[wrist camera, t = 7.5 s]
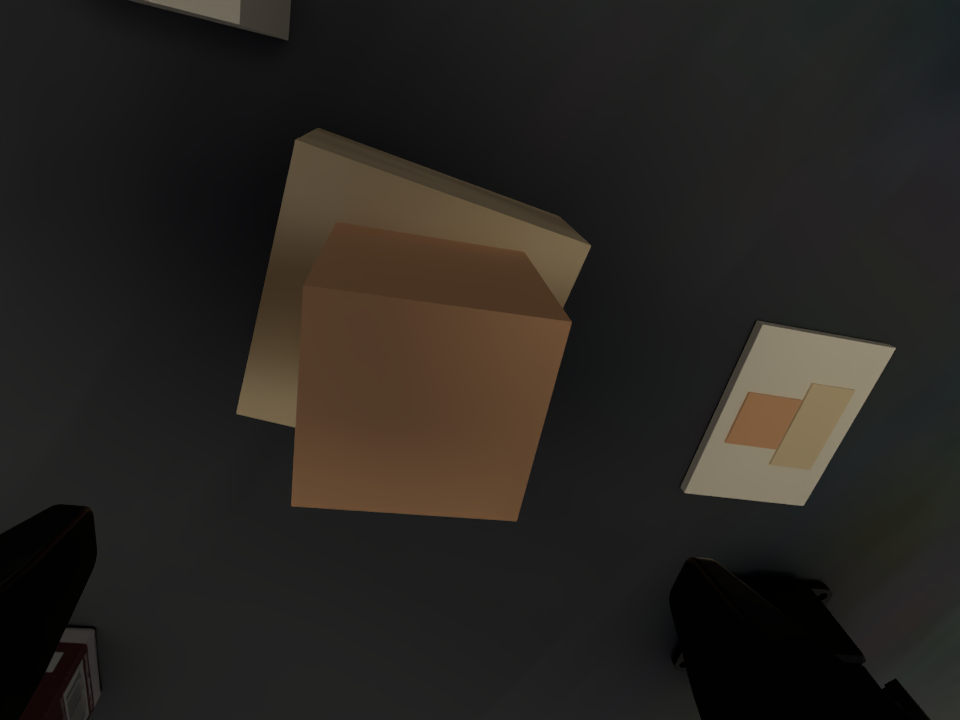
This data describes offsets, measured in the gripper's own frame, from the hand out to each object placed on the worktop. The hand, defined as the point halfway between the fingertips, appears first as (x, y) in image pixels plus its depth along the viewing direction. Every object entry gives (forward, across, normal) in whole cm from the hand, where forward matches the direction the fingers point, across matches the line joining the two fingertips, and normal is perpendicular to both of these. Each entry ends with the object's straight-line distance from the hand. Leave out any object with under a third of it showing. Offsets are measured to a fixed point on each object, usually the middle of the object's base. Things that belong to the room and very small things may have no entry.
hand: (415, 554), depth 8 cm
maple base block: (+12, 0, 0) cm, 12 cm away
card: (+12, -16, +3) cm, 20 cm away
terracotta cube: (+8, 0, 0) cm, 8 cm away
